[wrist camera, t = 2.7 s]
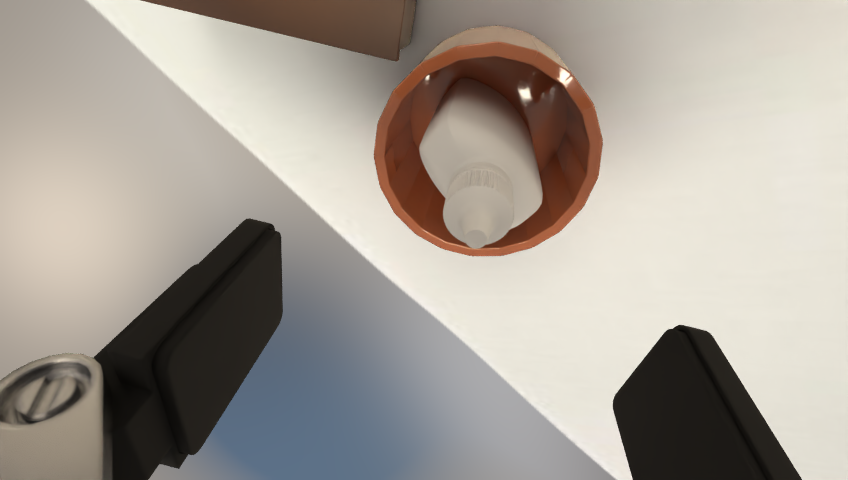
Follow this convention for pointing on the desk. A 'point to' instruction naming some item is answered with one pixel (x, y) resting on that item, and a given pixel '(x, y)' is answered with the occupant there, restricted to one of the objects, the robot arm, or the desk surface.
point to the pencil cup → (533, 99)
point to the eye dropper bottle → (481, 163)
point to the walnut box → (319, 20)
